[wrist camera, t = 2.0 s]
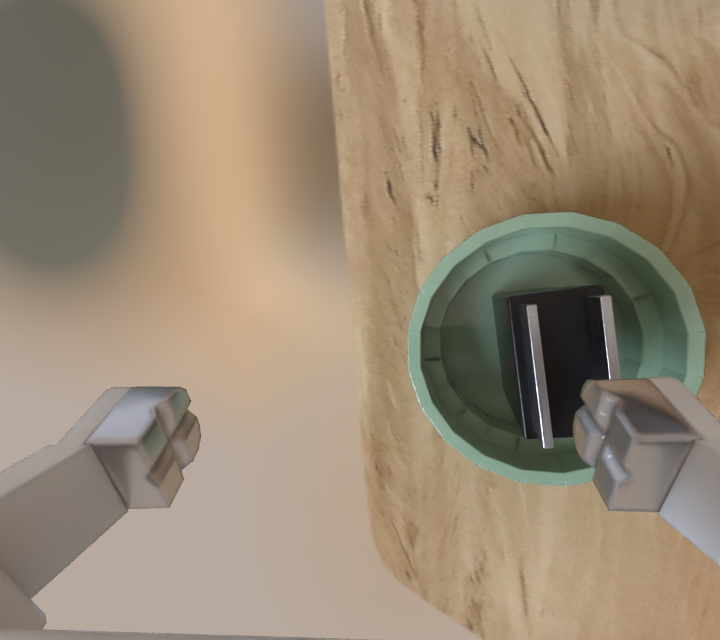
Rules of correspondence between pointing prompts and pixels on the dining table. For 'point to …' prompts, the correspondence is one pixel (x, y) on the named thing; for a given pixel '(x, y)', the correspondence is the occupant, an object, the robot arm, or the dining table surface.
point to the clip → (553, 354)
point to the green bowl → (530, 272)
